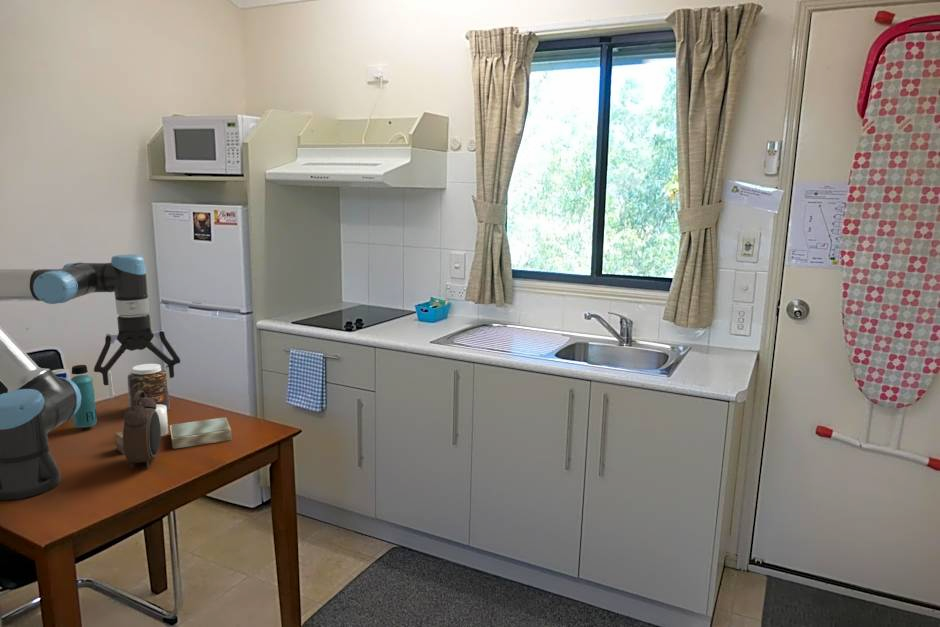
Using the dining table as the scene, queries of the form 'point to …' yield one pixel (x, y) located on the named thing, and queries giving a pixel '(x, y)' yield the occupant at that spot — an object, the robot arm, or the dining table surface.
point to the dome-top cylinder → (162, 418)
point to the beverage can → (62, 373)
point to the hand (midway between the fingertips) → (140, 393)
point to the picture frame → (200, 432)
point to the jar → (149, 383)
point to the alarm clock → (141, 430)
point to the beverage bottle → (84, 398)
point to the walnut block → (120, 441)
